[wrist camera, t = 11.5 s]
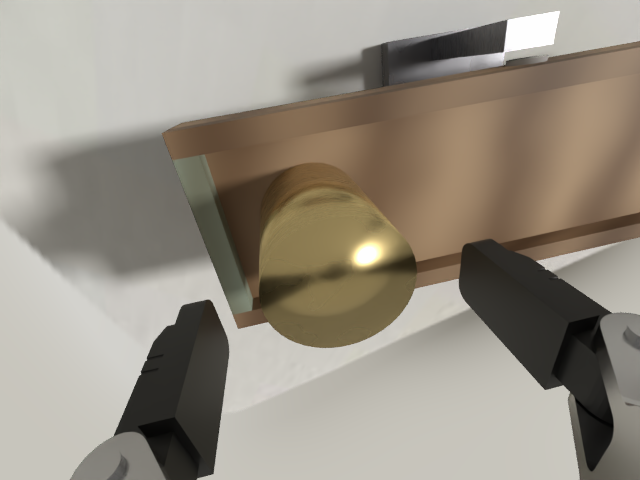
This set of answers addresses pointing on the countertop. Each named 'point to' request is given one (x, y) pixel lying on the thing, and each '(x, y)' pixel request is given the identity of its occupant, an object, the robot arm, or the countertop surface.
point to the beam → (436, 163)
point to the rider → (329, 259)
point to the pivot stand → (463, 49)
